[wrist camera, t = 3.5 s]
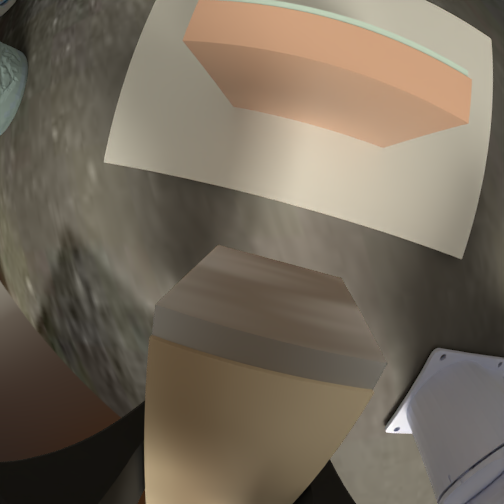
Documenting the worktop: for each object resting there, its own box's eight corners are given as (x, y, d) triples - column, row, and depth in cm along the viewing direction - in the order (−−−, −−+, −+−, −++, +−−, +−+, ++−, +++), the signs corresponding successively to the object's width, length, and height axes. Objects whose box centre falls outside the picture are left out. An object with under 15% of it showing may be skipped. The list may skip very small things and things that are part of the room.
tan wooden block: (340, 277, 9) (388, 366, 4) (257, 468, 12) (245, 549, 7) (219, 244, 9) (152, 306, 4) (179, 447, 12) (147, 524, 7)
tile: (389, 117, 13) (472, 71, 5) (382, 147, 13) (468, 123, 6) (241, 76, 13) (201, -8, 6) (233, 106, 14) (182, 40, 6)
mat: (487, 41, 11) (491, 39, 10) (457, 257, 15) (461, 259, 14) (182, -42, 12) (180, -46, 11) (107, 162, 16) (103, 162, 15)
